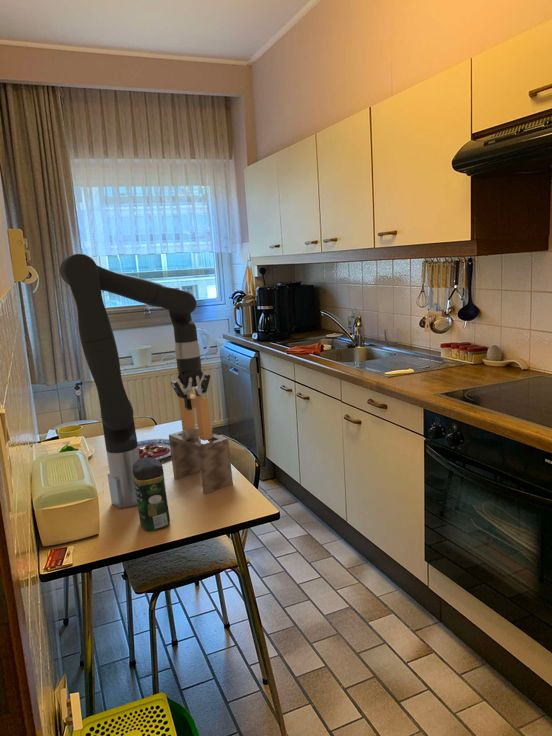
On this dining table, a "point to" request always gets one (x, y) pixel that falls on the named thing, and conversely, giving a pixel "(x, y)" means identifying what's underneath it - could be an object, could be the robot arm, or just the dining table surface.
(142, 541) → the dining table surface
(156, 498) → the coffee jar
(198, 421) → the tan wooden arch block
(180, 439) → the shelf stand
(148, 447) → the ceramic plate
